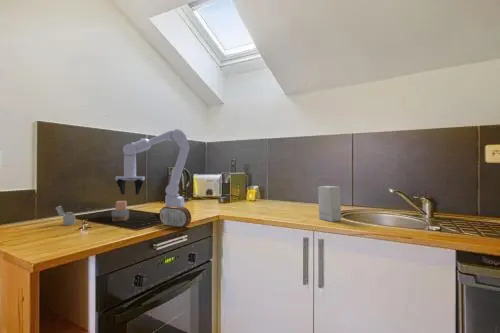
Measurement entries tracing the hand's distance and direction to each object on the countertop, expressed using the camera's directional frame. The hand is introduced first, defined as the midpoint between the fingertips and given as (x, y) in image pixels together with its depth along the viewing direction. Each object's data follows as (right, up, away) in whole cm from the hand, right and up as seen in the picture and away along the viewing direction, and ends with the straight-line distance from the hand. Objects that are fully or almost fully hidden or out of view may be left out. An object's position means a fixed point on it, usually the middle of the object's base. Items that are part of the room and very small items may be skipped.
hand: (130, 194), depth 139 cm
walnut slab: (+1, -11, -13) cm, 17 cm away
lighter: (-18, -11, -23) cm, 31 cm away
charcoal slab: (+1, -8, -13) cm, 16 cm away
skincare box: (+98, -11, -13) cm, 100 cm away
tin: (+30, -11, -26) cm, 41 cm away
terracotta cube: (+2, -6, -13) cm, 14 cm away
